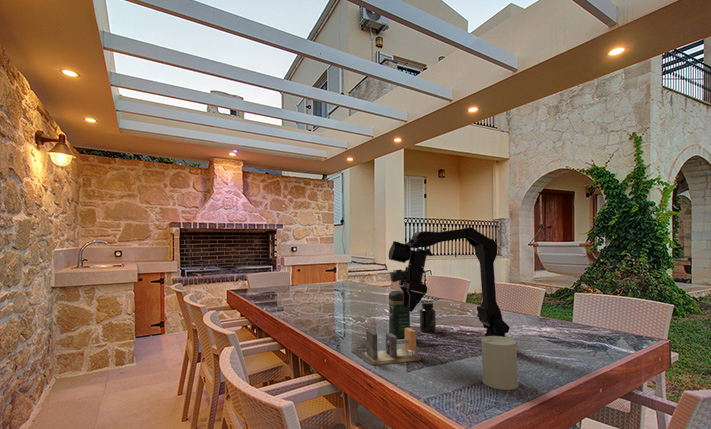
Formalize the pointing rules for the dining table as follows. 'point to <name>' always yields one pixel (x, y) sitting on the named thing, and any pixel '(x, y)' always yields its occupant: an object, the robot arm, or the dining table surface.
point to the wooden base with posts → (391, 350)
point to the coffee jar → (398, 315)
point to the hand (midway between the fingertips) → (407, 309)
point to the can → (499, 362)
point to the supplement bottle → (427, 317)
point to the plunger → (409, 340)
